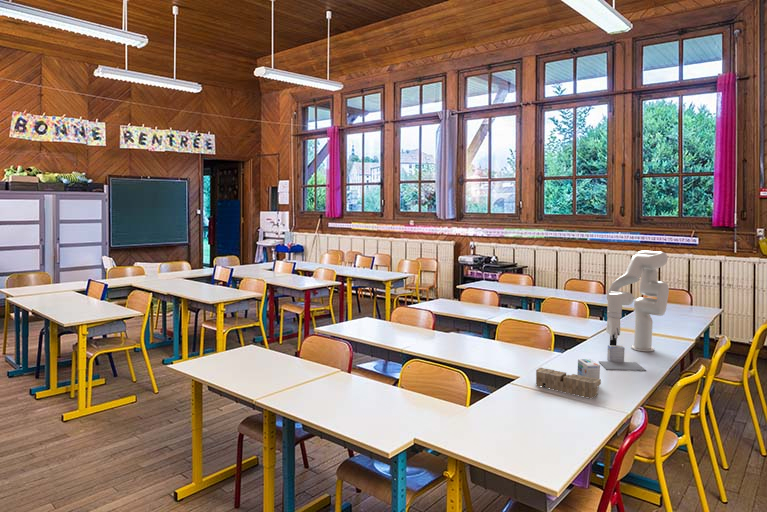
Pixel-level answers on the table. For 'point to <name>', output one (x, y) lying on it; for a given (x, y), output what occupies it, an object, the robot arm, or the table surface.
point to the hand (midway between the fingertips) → (613, 346)
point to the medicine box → (615, 353)
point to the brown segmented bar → (567, 382)
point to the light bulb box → (588, 368)
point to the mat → (621, 365)
